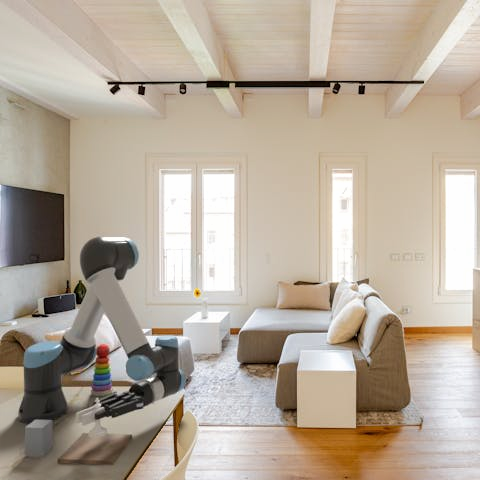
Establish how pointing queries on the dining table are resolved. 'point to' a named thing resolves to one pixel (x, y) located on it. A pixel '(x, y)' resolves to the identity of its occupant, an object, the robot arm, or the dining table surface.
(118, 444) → the walnut pad
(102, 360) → the stacking toy
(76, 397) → the dining table surface
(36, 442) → the slate block
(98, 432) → the chess piece
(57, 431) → the dining table surface
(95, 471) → the dining table surface
